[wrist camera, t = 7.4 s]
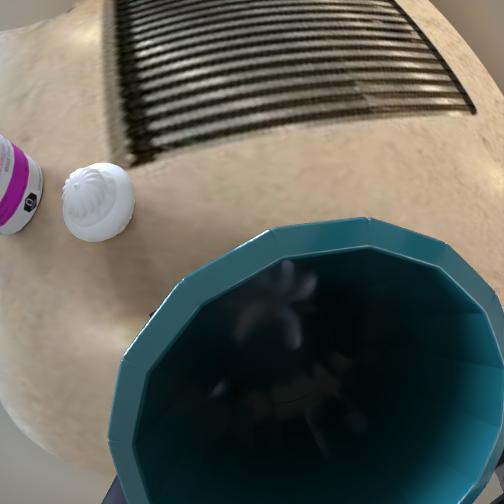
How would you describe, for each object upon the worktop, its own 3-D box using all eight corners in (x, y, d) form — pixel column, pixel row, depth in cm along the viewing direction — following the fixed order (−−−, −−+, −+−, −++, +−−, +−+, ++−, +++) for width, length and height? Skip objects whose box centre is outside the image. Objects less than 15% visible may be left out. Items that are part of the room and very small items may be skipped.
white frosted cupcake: (159, 228, 24) (127, 199, 17) (98, 263, 24) (50, 248, 17) (133, 168, 25) (101, 127, 18) (77, 202, 25) (33, 173, 18)
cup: (362, 334, 16) (555, 365, 3) (288, 428, 15) (345, 609, 3) (267, 262, 17) (302, 129, 4) (191, 358, 16) (47, 463, 3)
